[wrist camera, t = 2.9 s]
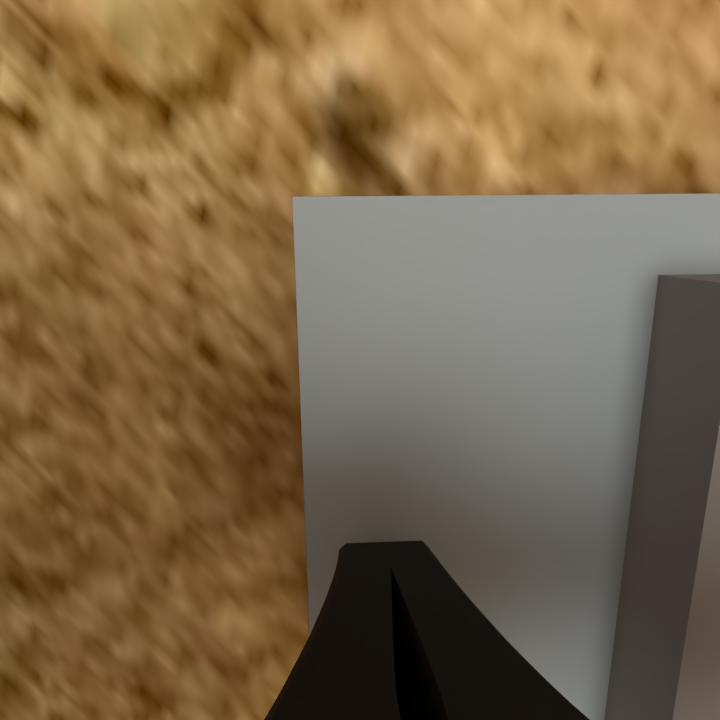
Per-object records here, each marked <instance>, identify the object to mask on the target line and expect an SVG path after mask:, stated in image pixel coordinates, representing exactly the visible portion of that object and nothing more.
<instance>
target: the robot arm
mask: <svg viewBox="0 0 720 720" xmlns="http://www.w3.org/2000/svg"><path fill="white" fill-rule="evenodd" d="M265 720H590V719H589V718H587V717H586V716H585V715H584V714H583V713H582V712H580V711H579V710H578V709H577V708H576V707H575V706H574V705H573V704H571V703H570V702H569V701H568V700H567V699H566V698H565V697H564V696H563V695H562V694H561V693H560V692H559V691H557V690H556V689H555V688H554V687H553V686H552V685H551V684H550V683H549V682H548V681H547V680H546V679H545V678H544V677H543V676H542V675H541V674H540V673H539V672H538V671H537V670H536V669H535V668H534V667H533V666H532V665H531V664H530V663H529V662H528V661H527V660H526V659H525V658H524V657H523V656H522V655H521V654H520V653H519V652H518V651H517V650H516V649H515V648H514V647H513V646H512V645H511V644H510V643H509V642H508V641H507V640H506V639H505V638H504V636H503V635H502V634H501V633H500V632H499V631H498V630H497V629H496V628H495V627H494V625H493V624H492V623H491V622H490V621H489V620H488V619H487V618H486V617H485V615H484V614H483V613H482V612H481V611H480V610H479V609H478V608H477V607H476V605H475V604H474V603H473V602H472V601H471V600H470V599H469V597H468V596H467V595H466V594H465V593H464V591H463V590H462V589H461V588H460V587H459V585H458V584H457V583H456V582H455V581H454V579H453V578H452V577H451V576H450V574H449V573H448V572H447V571H446V569H445V568H444V567H443V566H442V564H441V563H440V562H439V560H438V559H437V558H436V556H435V555H434V554H433V553H432V551H431V550H430V549H429V547H428V546H427V545H426V544H425V543H424V542H423V541H422V540H421V541H394V542H367V543H346V544H345V545H344V546H343V547H342V548H341V549H340V550H339V555H338V561H337V566H336V569H335V573H334V576H333V579H332V582H331V585H330V588H329V591H328V593H327V596H326V599H325V601H324V604H323V606H322V608H321V611H320V613H319V615H318V618H317V620H316V622H315V624H314V627H313V629H312V631H311V634H310V636H309V638H308V640H307V642H306V644H305V646H304V648H303V650H302V652H301V654H300V656H299V658H298V660H297V662H296V663H295V665H294V667H293V669H292V671H291V673H290V675H289V677H288V679H287V681H286V683H285V685H284V686H283V688H282V690H281V692H280V694H279V696H278V697H277V699H276V701H275V702H274V704H273V706H272V708H271V709H270V711H269V713H268V715H267V716H266V718H265Z"/></svg>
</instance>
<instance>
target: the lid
mask: <svg viewBox="0 0 720 720" xmlns="http://www.w3.org/2000/svg"><path fill="white" fill-rule="evenodd" d="M292 200H293V225H294V251H295V277H296V302H297V328H298V354H299V379H300V405H301V431H302V457H303V482H304V508H305V534H306V559H307V585H308V611H309V636H310V634H311V631H312V629H313V627H314V624H315V622H316V620H317V618H318V615H319V613H320V611H321V608H322V606H323V604H324V601H325V599H326V596H327V593H328V591H329V588H330V585H331V582H332V579H333V576H334V573H335V569H336V566H337V561H338V555H339V550H340V549H341V548H342V547H343V546H344V545H345V544H346V543H367V542H394V541H421V540H422V541H423V542H424V543H425V544H426V545H427V546H428V547H429V549H430V550H431V551H432V553H433V554H434V555H435V556H436V558H437V559H438V560H439V562H440V563H441V564H442V566H443V567H444V568H445V569H446V571H447V572H448V573H449V574H450V576H451V577H452V578H453V579H454V581H455V582H456V583H457V584H458V585H459V587H460V588H461V589H462V590H463V591H464V593H465V594H466V595H467V596H468V597H469V599H470V600H471V601H472V602H473V603H474V604H475V605H476V607H477V608H478V609H479V610H480V611H481V612H482V613H483V614H484V615H485V617H486V618H487V619H488V620H489V621H490V622H491V623H492V624H493V625H494V627H495V628H496V629H497V630H498V631H499V632H500V633H501V634H502V635H503V636H504V638H505V639H506V640H507V641H508V642H509V643H510V644H511V645H512V646H513V647H514V648H515V649H516V650H517V651H518V652H519V653H520V654H521V655H522V656H523V657H524V658H525V659H526V660H527V661H528V662H529V663H530V664H531V665H532V666H533V667H534V668H535V669H536V670H537V671H538V672H539V673H540V674H541V675H542V676H543V677H544V678H545V679H546V680H547V681H548V682H549V683H550V684H551V685H552V686H553V687H554V688H555V689H556V690H557V691H559V692H560V693H561V694H562V695H563V696H564V697H565V698H566V699H567V700H568V701H569V702H570V703H571V704H573V705H574V706H575V707H576V708H577V709H578V710H579V711H580V712H582V713H583V714H584V715H585V716H586V717H587V718H589V719H590V720H720V194H592V195H459V196H325V197H292Z"/></svg>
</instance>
